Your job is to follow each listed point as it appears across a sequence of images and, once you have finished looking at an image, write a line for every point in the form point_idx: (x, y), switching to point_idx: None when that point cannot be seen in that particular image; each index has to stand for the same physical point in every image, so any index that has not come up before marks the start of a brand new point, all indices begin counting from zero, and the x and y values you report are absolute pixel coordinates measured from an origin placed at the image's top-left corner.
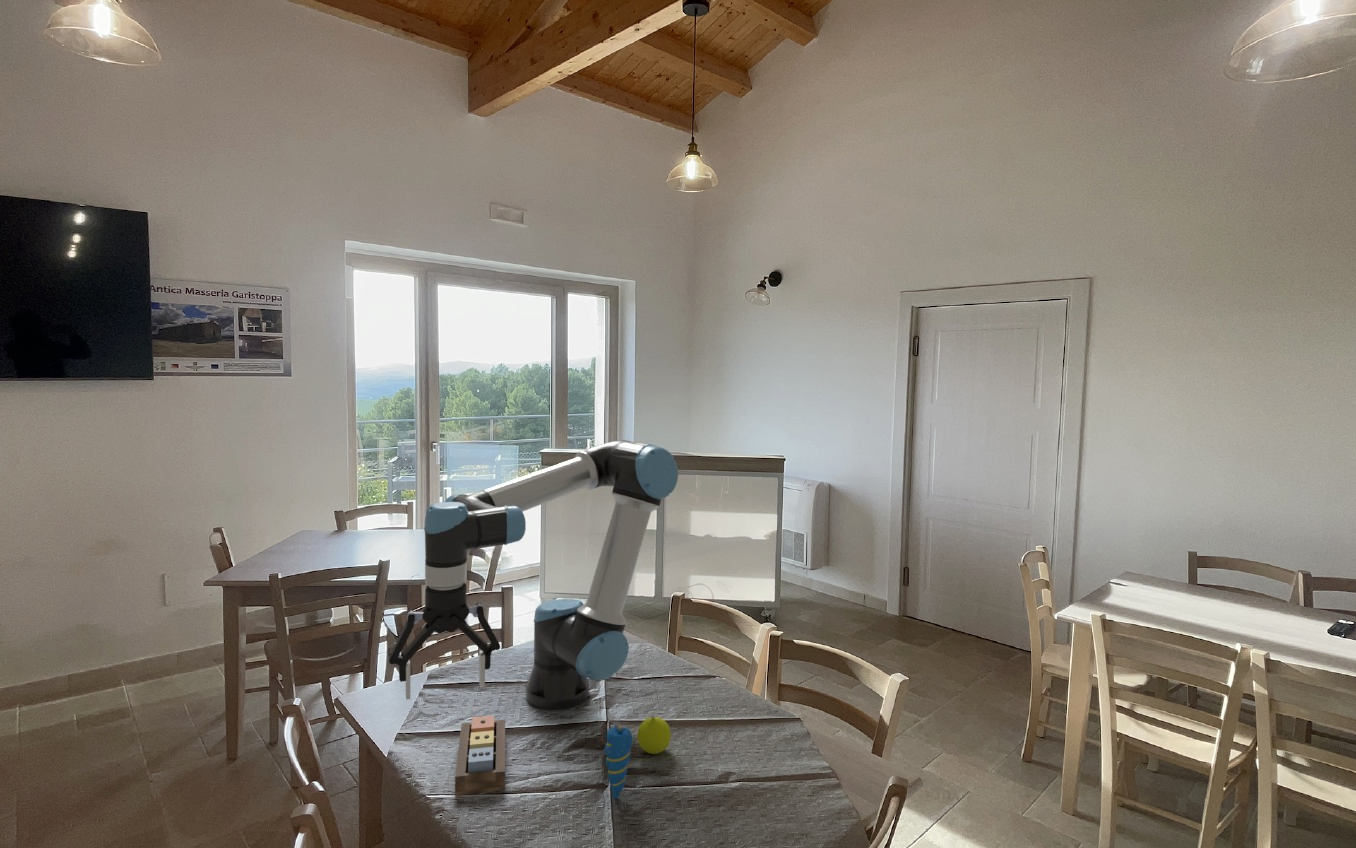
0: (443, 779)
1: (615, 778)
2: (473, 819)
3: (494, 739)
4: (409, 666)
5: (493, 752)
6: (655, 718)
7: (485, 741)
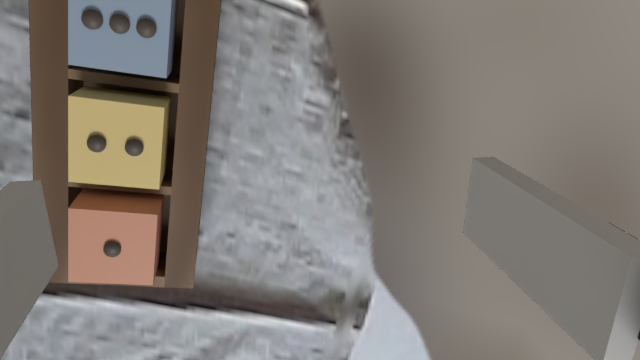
0: (255, 76)
1: None
2: None
3: None
4: (635, 254)
5: None
6: None
7: (101, 113)
